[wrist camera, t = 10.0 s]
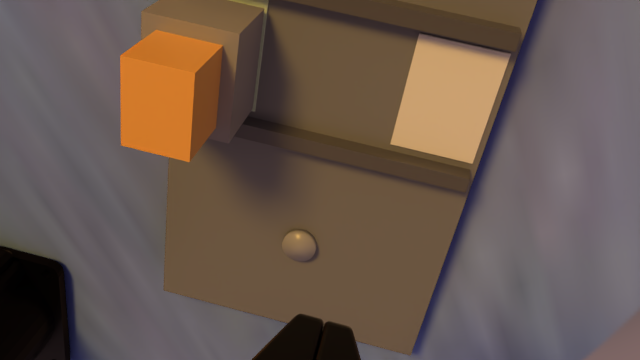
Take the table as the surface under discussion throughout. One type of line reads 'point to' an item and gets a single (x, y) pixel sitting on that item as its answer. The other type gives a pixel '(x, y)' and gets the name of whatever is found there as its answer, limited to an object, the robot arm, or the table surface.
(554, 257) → the table surface
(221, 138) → the toggle
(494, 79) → the panel
